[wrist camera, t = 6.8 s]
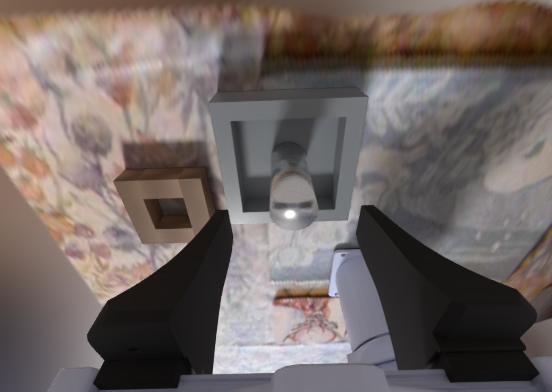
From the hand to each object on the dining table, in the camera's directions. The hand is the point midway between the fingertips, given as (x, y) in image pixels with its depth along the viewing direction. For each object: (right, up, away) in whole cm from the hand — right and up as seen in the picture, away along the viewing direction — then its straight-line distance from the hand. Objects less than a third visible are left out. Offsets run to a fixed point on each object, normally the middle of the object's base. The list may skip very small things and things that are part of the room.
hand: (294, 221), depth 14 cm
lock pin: (0, +5, +6) cm, 8 cm away
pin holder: (-10, +1, +10) cm, 14 cm away
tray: (0, +5, +7) cm, 9 cm away
